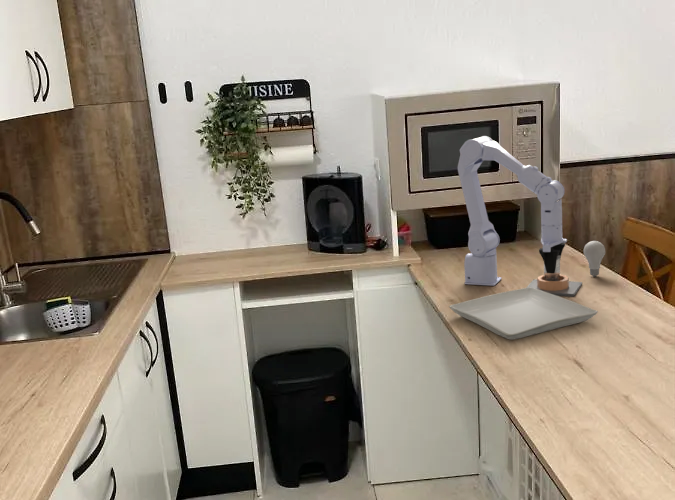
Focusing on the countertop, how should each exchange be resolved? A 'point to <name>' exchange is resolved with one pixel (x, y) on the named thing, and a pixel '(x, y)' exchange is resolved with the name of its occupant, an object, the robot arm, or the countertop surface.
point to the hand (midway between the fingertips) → (552, 270)
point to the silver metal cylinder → (555, 275)
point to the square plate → (522, 312)
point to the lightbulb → (594, 256)
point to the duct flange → (556, 286)
